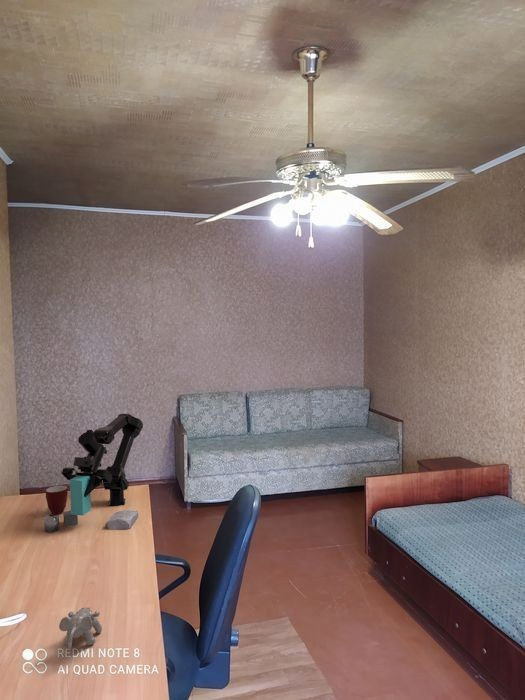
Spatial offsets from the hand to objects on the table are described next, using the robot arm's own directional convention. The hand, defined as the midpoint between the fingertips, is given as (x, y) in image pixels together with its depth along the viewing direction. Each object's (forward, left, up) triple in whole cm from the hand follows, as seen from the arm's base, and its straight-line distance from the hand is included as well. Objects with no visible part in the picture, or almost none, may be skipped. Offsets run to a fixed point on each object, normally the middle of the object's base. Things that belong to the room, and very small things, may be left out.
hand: (78, 496), depth 182 cm
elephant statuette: (+71, +9, -13) cm, 72 cm away
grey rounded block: (-2, -10, -12) cm, 16 cm away
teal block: (-1, +1, -7) cm, 7 cm away
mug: (-20, -11, -13) cm, 26 cm away
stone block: (-1, +15, -13) cm, 20 cm away
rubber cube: (-6, -4, -13) cm, 15 cm away
